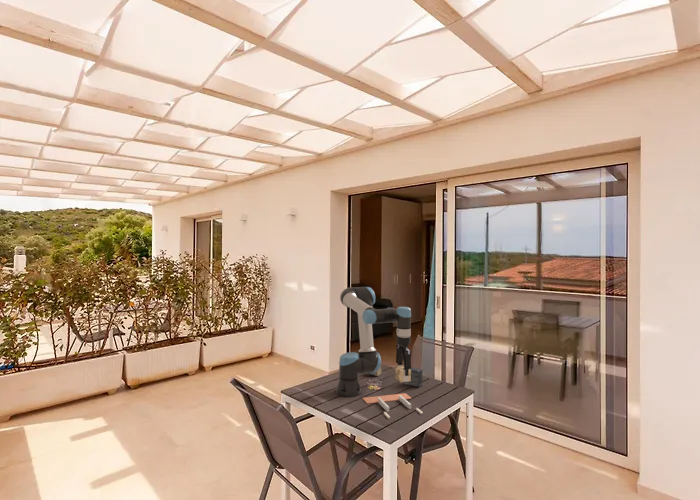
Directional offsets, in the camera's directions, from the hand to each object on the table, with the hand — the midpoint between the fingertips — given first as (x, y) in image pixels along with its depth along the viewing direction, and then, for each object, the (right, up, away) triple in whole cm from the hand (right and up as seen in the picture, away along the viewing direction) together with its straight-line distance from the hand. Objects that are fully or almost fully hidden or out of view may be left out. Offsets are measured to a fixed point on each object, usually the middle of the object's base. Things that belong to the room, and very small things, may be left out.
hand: (403, 379), depth 195 cm
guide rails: (-4, -18, +10) cm, 21 cm away
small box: (+13, -20, +44) cm, 50 cm away
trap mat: (-7, -19, +20) cm, 28 cm away
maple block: (0, 0, 0) cm, 0 cm away
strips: (0, -18, -1) cm, 18 cm away
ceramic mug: (-11, -20, +64) cm, 68 cm away
